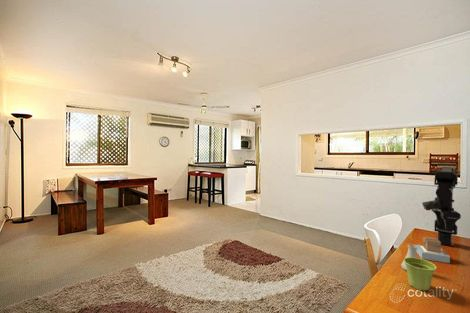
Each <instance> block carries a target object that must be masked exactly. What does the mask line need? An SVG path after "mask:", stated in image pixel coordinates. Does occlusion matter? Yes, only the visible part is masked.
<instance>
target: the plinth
mask: <svg viewBox="0 0 470 313" xmlns="http://www.w3.org/2000/svg"><path fill="white" fill-rule="evenodd" d="M415 246H417V247H418V248H417V251H416V252H417V255H419V258H420V259H423V260H426V261H432V262H439V263H444V264H450V263H451V256H450V255H449V254H448V253H447V252H446V251H445V250H444V249H443V248H441V253H438V252H431V251H427V250H426V249H425V248H424V247H423V245H421V244H415Z"/></svg>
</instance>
